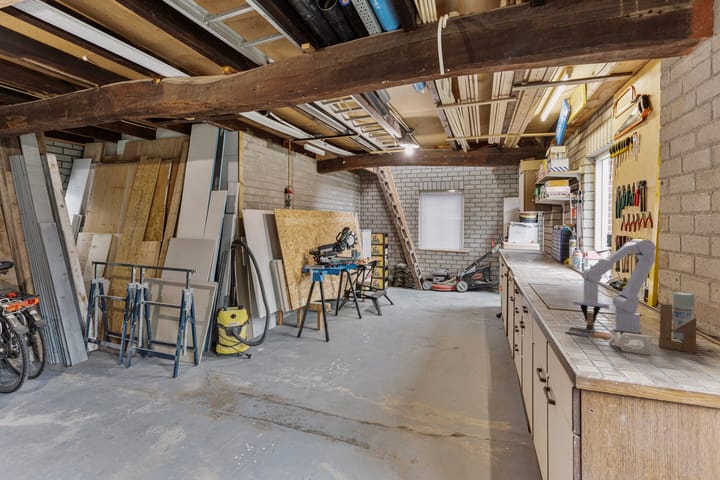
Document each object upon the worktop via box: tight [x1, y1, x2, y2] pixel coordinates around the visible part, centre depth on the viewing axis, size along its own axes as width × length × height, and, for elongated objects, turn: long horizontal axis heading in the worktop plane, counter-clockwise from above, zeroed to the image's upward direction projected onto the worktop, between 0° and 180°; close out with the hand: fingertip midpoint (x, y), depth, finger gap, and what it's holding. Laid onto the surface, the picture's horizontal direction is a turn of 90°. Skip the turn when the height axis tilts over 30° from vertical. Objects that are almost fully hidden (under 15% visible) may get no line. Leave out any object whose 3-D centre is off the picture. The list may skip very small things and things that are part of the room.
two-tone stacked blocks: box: [585, 311, 595, 331], centre depth 164 cm, size 2×7×8 cm, turn 140°
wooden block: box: [658, 302, 698, 354], centre depth 135 cm, size 4×11×18 cm, turn 47°
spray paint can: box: [672, 291, 695, 341], centre depth 147 cm, size 6×6×20 cm
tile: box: [593, 330, 612, 340], centre depth 152 cm, size 6×6×2 cm
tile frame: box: [565, 325, 592, 338], centre depth 158 cm, size 9×11×1 cm
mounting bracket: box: [609, 331, 653, 355], centre depth 134 cm, size 12×6×11 cm, turn 58°
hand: (590, 321), depth 164 cm, fingers closed on two-tone stacked blocks, 2 cm apart
